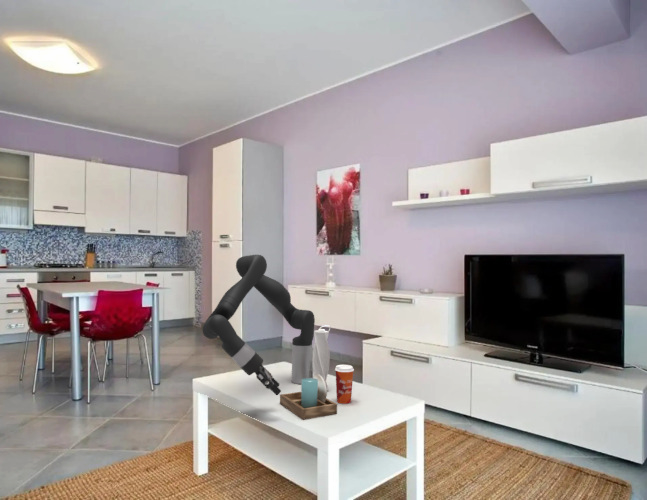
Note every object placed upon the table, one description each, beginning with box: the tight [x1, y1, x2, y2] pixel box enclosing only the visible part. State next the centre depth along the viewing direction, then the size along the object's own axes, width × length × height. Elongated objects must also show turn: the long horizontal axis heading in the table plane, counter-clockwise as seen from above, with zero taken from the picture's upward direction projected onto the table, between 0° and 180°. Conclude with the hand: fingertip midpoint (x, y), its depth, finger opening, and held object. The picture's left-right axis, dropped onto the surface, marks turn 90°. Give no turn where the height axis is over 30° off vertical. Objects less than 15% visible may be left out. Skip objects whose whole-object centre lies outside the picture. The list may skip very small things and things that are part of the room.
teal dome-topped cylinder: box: [300, 378, 318, 408], centre depth 163 cm, size 6×6×11 cm
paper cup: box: [334, 364, 355, 405], centre depth 177 cm, size 8×8×14 cm
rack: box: [279, 375, 338, 421], centre depth 168 cm, size 14×20×12 cm
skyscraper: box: [309, 324, 332, 393], centre depth 193 cm, size 8×8×28 cm
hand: (278, 389), depth 161 cm, fingers open, 8 cm apart
